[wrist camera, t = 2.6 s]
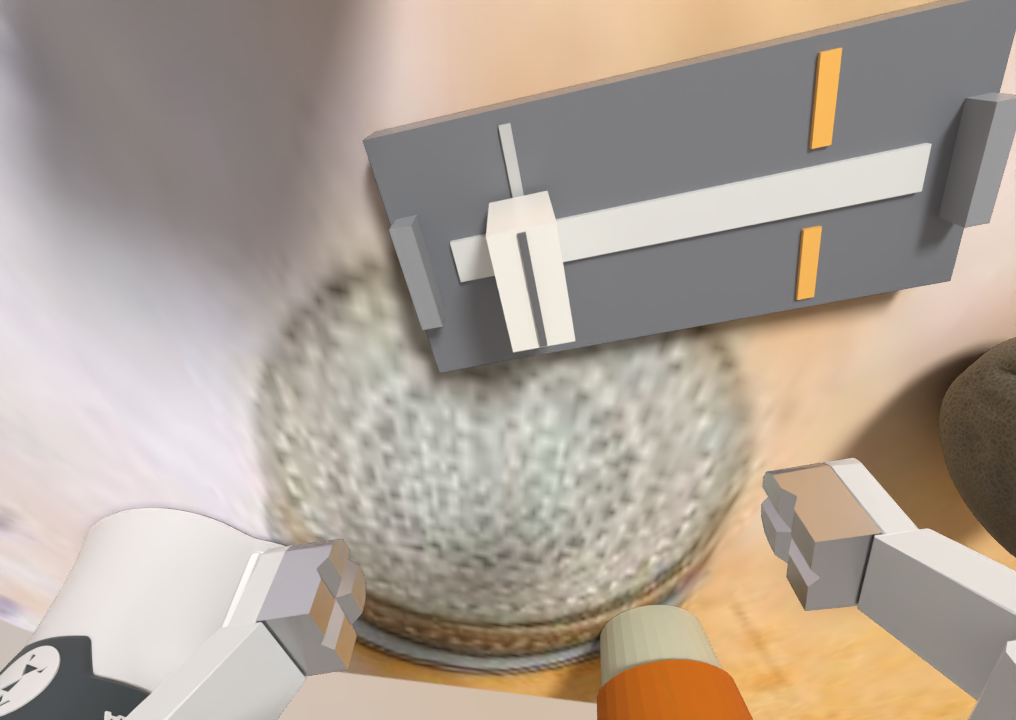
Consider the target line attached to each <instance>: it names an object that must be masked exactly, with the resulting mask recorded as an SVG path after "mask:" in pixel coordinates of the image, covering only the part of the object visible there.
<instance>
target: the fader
mask: <svg viewBox="0 0 1016 720" xmlns="http://www.w3.org/2000/svg"><path fill="white" fill-rule="evenodd" d="M486 240H487V244H488V248H489V252H490V257H491V261H492V265H493V269H494V274H495V278H496V282H497V286H498V291H499V295H500V299H501V303H502V307H503V312H504V316H505V320H506V324H507V329H508V333H509V337H510V341H511V346H512V350H513V352H518V351H524V350H529V349H535V348H540V347H546V346H551V345H557V344H562V343H568V342H573V341H575V335H574V328H573V322H572V316H571V310H570V303H569V297H568V291H567V285H566V278H565V272H564V266H563V260H562V253H561V247H560V241H559V235H558V228H557V222H556V219H555V215H554V212H553V208H552V205H551V201H550V198H549V194H548V191H543V192H538V193H534V194H529V195H524V196H520V197H515V198H510V199H505V200H501V201H496V202H491V203H489V209H488V219H487V230H486Z"/></svg>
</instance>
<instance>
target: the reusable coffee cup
mask: <svg viewBox="0 0 1016 720" xmlns="http://www.w3.org/2000/svg"><path fill="white" fill-rule="evenodd" d="M600 654H601V684H602V688H601V690H600V691H599V694H598V696H597V720H753V719H752V716H751V714H750V712H749V710H748V708H747V706H746V704H745V702H744V700H743V698H742V696H741V694H740V692H739V690H738V688H737V686H736V684H735V682H734V680H733V678H732V677H731V676H730V675H729V674H728V673H727V672H726V671H724V670H723V669H722V667H721V665H720V663H719V660H718V658H717V656H716V654H715V652H714V650H713V648H712V646H711V644H710V642H709V640H708V637H707V635H706V633H705V631H704V629H703V627H702V625H701V623H700V621H699V619H698V618H697V617H696V616H695V615H694V614H692V613H691V612H689V611H687V610H685V609H682V608H679V607H675V606H670V605H648V606H642V607H637V608H634V609H630V610H627V611H625V612H623V613H620V614H619V615H617V616H615V617H614V618H612V619H611V620H610V621H609V622H608V623H607V624H606V625H605V626H604V628H603V629H602V631H601V634H600Z"/></svg>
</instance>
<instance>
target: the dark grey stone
mask: <svg viewBox="0 0 1016 720" xmlns="http://www.w3.org/2000/svg"><path fill="white" fill-rule="evenodd" d="M939 431H940V439H941V445H942V450H943V454H944V458H945V461H946V465H947V468H948V470H949V473H950V475H951V478H952V480H953V482H954V484H955V486H956V488H957V490H958V491H959V493H960V495H961V497H962V498H963V500H964V502H965V503H966V505H967V506H968V508H969V509H970V510H971V512H972V513H973V515H974V516H975V517H976V518H977V520H978V521H979V522H980V523H981V524H982V526H983V527H984V528H985V529H986V530H987V531H988V532H989V534H990V535H991V536H992V537H993V538H994V539H995V540H996V541H997V542H998V543H999V544H1000V545H1001V546H1003V547H1004V548H1005V549H1006V550H1007V551H1008V552H1009V553H1010V554H1012V555H1013V556H1014V557H1016V337H1015V338H1012V339H1010V340H1007V341H1005V342H1003V343H1001V344H999V345H997V346H995V347H993V348H992V349H990V350H988V351H987V352H986V353H984V354H983V355H982V356H981V357H980V358H978V359H977V360H976V361H975V362H974V363H973V364H971V365H970V366H969V367H968V368H967V369H966V370H965V371H964V372H962V373H961V374H960V375H959V376H958V377H957V378H956V379H955V380H954V381H953V382H952V384H951V385H950V386H949V388H948V390H947V391H946V393H945V396H944V398H943V401H942V404H941V409H940V413H939Z"/></svg>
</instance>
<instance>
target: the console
mask: <svg viewBox="0 0 1016 720" xmlns="http://www.w3.org/2000/svg"><path fill="white" fill-rule="evenodd" d="M1015 31H1016V0H941V1H937V2H932V3H928V4H924V5H919V6H915V7H911V8H906V9H902V10H898V11H893V12H889V13H885V14H881V15H876V16H872V17H868V18H863V19H859V20H855V21H850V22H846V23H842V24H837V25H833V26H829V27H825V28H820V29H816V30H812V31H807V32H803V33H799V34H794V35H790V36H786V37H781V38H777V39H773V40H769V41H764V42H760V43H756V44H751V45H747V46H743V47H738V48H734V49H730V50H725V51H721V52H717V53H713V54H708V55H704V56H700V57H695V58H691V59H687V60H682V61H678V62H674V63H669V64H665V65H661V66H656V67H652V68H648V69H644V70H639V71H635V72H631V73H626V74H622V75H618V76H613V77H609V78H605V79H600V80H596V81H592V82H588V83H583V84H579V85H575V86H570V87H566V88H562V89H557V90H553V91H549V92H544V93H540V94H536V95H532V96H527V97H523V98H519V99H514V100H510V101H506V102H501V103H497V104H493V105H488V106H484V107H480V108H475V109H471V110H467V111H463V112H458V113H454V114H450V115H445V116H441V117H437V118H432V119H428V120H424V121H419V122H415V123H411V124H407V125H402V126H398V127H394V128H389V129H385V130H381V131H376V132H374V133H372V134H371V135H370V136H368V137H367V138H365V139H364V140H363V143H364V146H365V149H366V152H367V155H368V158H369V161H370V164H371V167H372V170H373V173H374V176H375V179H376V182H377V185H378V188H379V191H380V194H381V197H382V200H383V203H384V206H385V209H386V212H387V215H388V218H389V221H390V224H391V228H390V229H389V232H390V235H391V238H392V241H393V244H394V247H395V250H396V253H397V256H398V259H399V262H400V265H401V268H402V271H403V274H404V277H405V280H406V283H407V286H408V289H409V292H410V295H411V298H412V301H413V304H414V307H415V310H416V313H417V316H418V319H419V322H420V325H421V327H422V330H426V333H427V336H428V339H429V342H430V345H431V348H432V351H433V354H434V357H435V360H436V363H437V366H438V369H439V372H440V373H441V372H447V371H452V370H458V369H463V368H469V367H474V366H480V365H485V364H491V363H497V362H502V361H508V360H513V359H519V358H524V357H530V356H535V355H541V354H547V353H552V352H558V351H563V350H569V349H574V348H580V347H586V346H591V345H597V344H602V343H608V342H613V341H619V340H624V339H630V338H636V337H641V336H647V335H652V334H658V333H663V332H669V331H675V330H680V329H686V328H691V327H697V326H702V325H708V324H713V323H719V322H725V321H730V320H736V319H741V318H747V317H752V316H758V315H763V314H769V313H775V312H780V311H786V310H791V309H797V308H802V307H808V306H814V305H819V304H825V303H830V302H836V301H841V300H847V299H852V298H858V297H864V296H869V295H875V294H880V293H886V292H891V291H897V290H903V289H908V288H914V287H919V286H925V285H930V284H936V283H941V282H947V281H950V280H951V276H952V272H953V269H954V265H955V261H956V257H957V253H958V249H959V246H960V242H961V238H962V234H963V230H964V228H966V227H971V226H976V225H981V224H987V223H989V222H990V219H991V215H992V212H993V208H994V205H995V201H996V198H997V194H998V191H999V187H1000V184H1001V180H1002V177H1003V173H1004V170H1005V166H1006V163H1007V159H1008V156H1009V152H1010V149H1011V145H1012V142H1013V138H1014V135H1015V131H1016V95H1012V94H1003V93H999V92H1000V88H1001V85H1002V81H1003V77H1004V73H1005V69H1006V65H1007V62H1008V58H1009V54H1010V50H1011V46H1012V42H1013V39H1014V35H1015ZM543 191H548V194H549V198H550V201H551V205H552V208H553V212H554V215H555V219H556V222H557V228H558V235H559V241H560V247H561V253H562V260H563V266H564V272H565V278H566V285H567V291H568V297H569V303H570V310H571V316H572V322H573V328H574V335H575V341H573V342H568V343H562V344H557V345H551V346H546V347H540V348H535V349H529V350H524V351H518V352H513V350H512V346H511V341H510V337H509V333H508V329H507V324H506V320H505V316H504V312H503V307H502V303H501V299H500V295H499V291H498V286H497V282H496V278H495V274H494V269H493V265H492V261H491V257H490V252H489V248H488V244H487V240H486V230H487V219H488V209H489V203H491V202H496V201H501V200H505V199H510V198H515V197H520V196H524V195H529V194H534V193H538V192H543Z"/></svg>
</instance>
